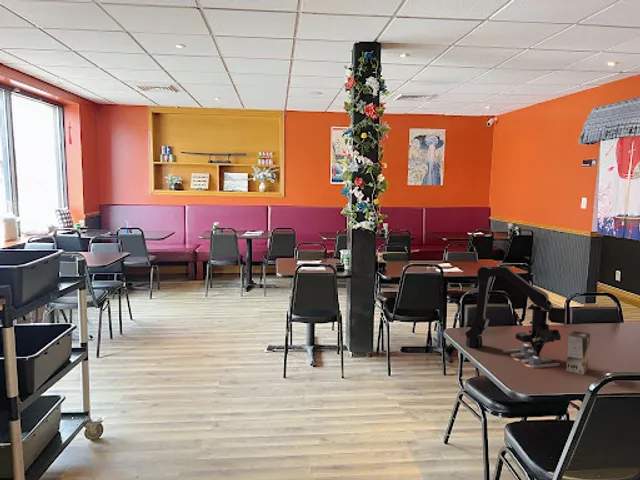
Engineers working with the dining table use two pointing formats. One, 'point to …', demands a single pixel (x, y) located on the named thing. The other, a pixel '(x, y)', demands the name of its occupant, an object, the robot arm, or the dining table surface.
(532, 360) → the tab
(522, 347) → the tab
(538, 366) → the switch board
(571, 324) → the dining table surface
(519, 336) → the robot arm
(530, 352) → the tab
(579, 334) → the coffee box
